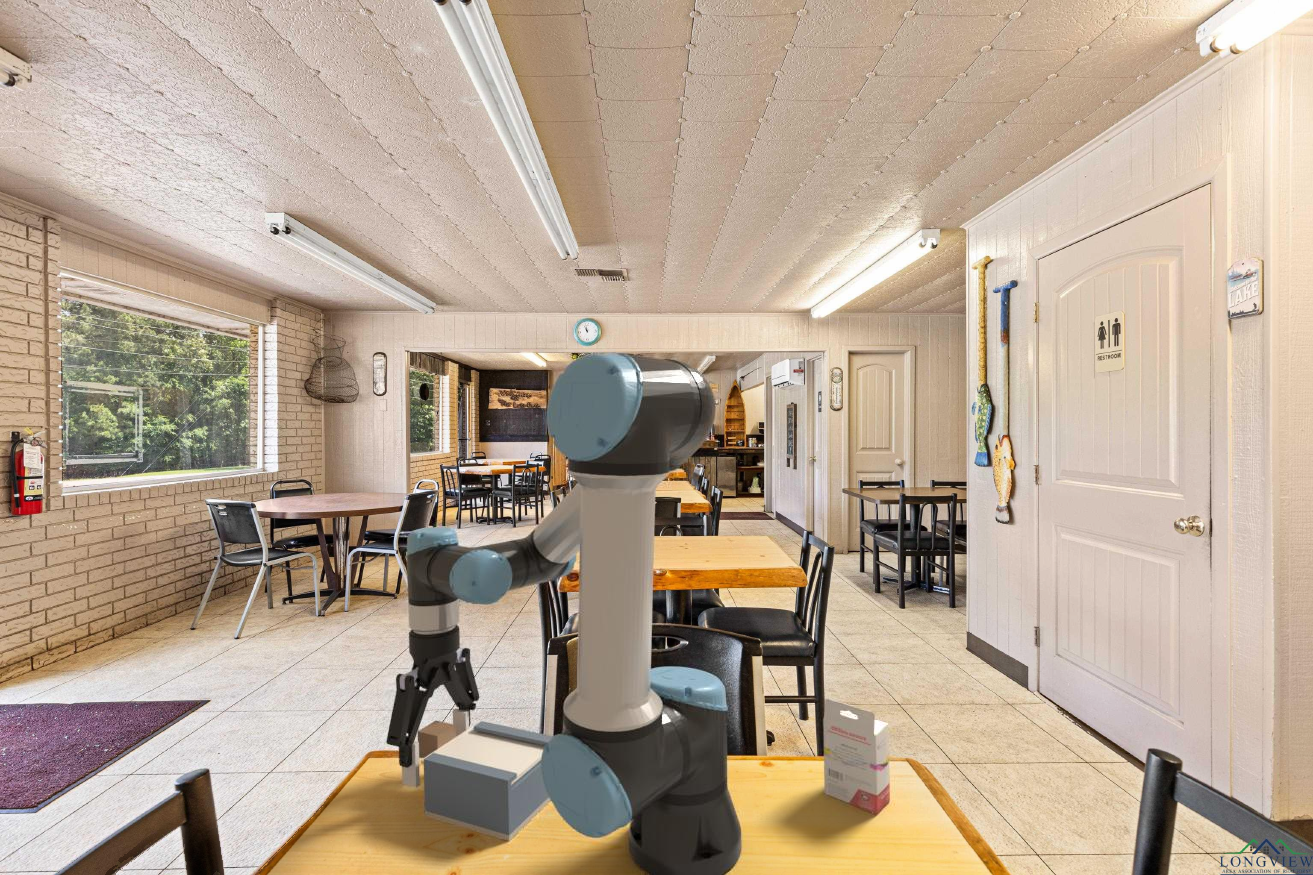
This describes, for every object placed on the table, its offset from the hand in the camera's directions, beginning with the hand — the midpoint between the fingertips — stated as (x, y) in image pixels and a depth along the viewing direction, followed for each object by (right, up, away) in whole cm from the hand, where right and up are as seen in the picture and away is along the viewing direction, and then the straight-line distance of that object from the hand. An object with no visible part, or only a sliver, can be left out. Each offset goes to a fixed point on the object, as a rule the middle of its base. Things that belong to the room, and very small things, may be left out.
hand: (437, 766), depth 101 cm
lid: (+7, +2, -3) cm, 8 cm away
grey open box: (+10, -3, -4) cm, 11 cm away
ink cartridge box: (+65, -3, -4) cm, 65 cm away
